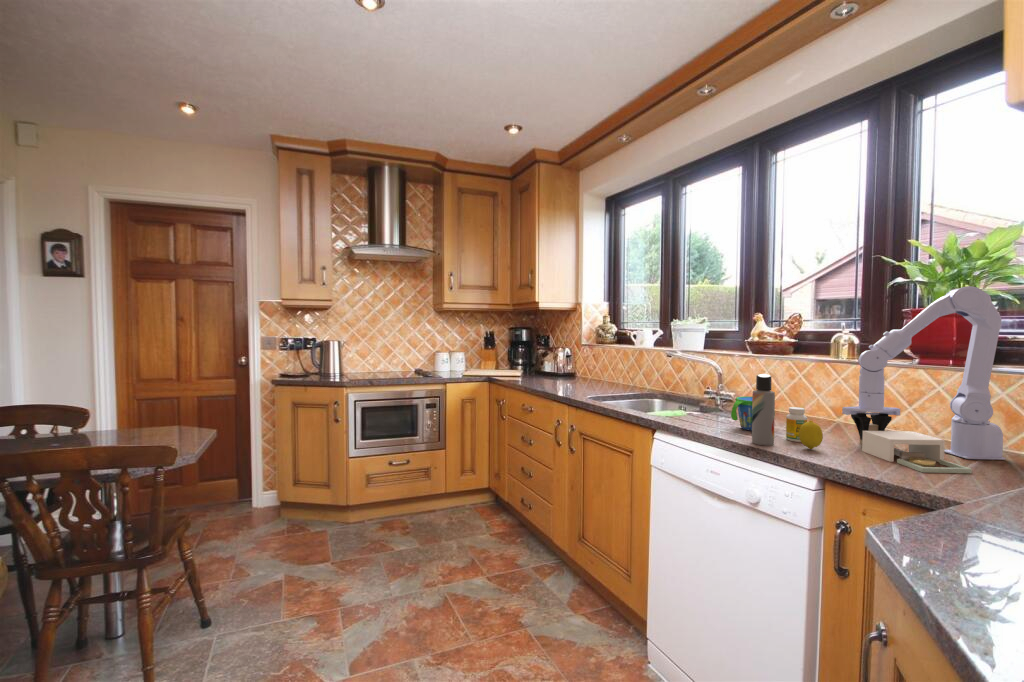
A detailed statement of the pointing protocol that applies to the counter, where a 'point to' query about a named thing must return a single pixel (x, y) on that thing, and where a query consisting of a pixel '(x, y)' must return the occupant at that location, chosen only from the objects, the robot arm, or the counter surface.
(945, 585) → the counter surface
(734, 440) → the counter surface
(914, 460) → the token
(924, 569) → the counter surface
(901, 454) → the push slider
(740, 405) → the snack cup
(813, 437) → the lemon
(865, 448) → the ivory tunnel cover
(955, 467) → the tray
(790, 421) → the supplement bottle
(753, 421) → the lotion bottle
